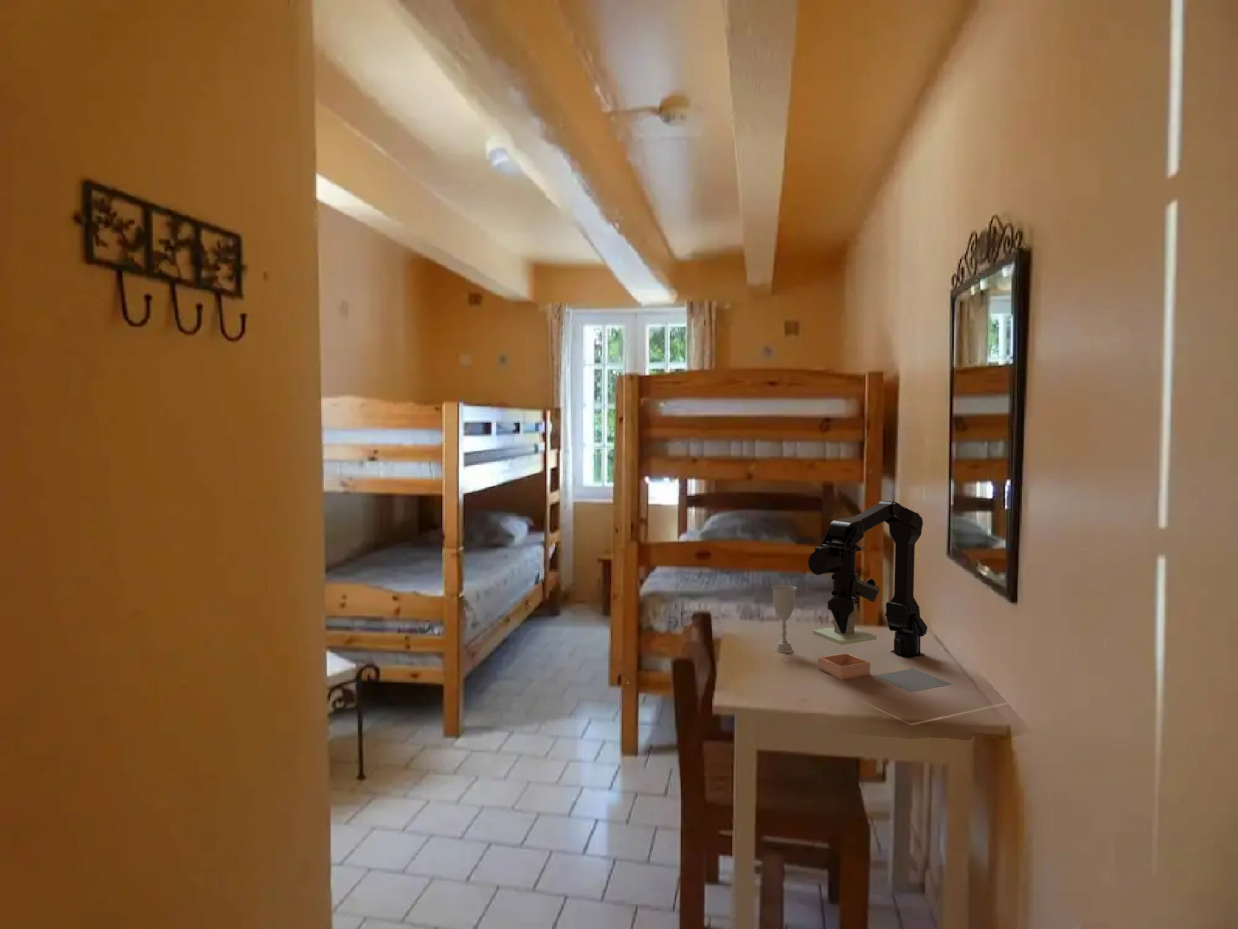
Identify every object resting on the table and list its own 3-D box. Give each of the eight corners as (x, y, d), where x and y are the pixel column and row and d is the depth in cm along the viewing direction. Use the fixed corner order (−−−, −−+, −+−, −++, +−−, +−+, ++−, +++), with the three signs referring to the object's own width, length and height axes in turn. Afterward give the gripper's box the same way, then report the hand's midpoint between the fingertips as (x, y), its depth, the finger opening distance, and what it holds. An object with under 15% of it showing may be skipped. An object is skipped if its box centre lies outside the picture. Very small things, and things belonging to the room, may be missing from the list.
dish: (846, 665, 200) (846, 652, 200) (869, 676, 192) (870, 662, 192) (818, 670, 197) (818, 657, 197) (841, 681, 189) (841, 667, 188)
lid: (847, 629, 201) (847, 610, 201) (876, 639, 191) (876, 619, 191) (813, 634, 197) (813, 615, 197) (841, 645, 187) (841, 625, 187)
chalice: (766, 648, 217) (766, 586, 216) (786, 645, 220) (786, 583, 219) (781, 655, 210) (781, 591, 209) (802, 652, 213) (801, 588, 212)
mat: (912, 670, 196) (912, 668, 196) (952, 685, 184) (952, 684, 184) (872, 677, 191) (872, 675, 191) (911, 693, 179) (911, 692, 179)
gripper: (875, 579, 181) (875, 643, 182) (879, 565, 199) (879, 624, 200) (827, 576, 186) (827, 639, 186) (835, 563, 203) (835, 620, 204)
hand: (844, 630), depth 194 cm, fingers closed on lid, 5 cm apart
